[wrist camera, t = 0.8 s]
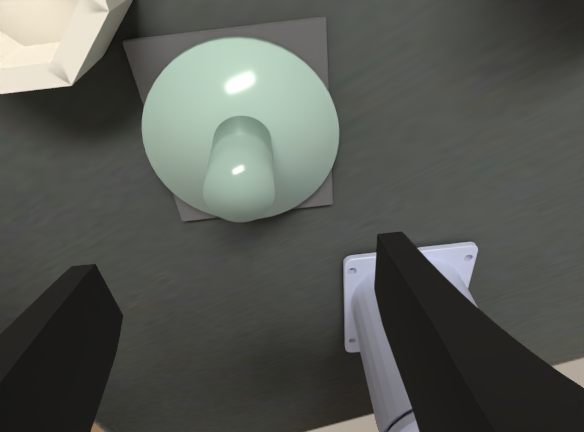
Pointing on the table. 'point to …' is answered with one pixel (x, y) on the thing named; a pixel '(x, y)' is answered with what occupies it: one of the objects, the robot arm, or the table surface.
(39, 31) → the bowl
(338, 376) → the table surface
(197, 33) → the mat
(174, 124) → the lid
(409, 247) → the robot arm
